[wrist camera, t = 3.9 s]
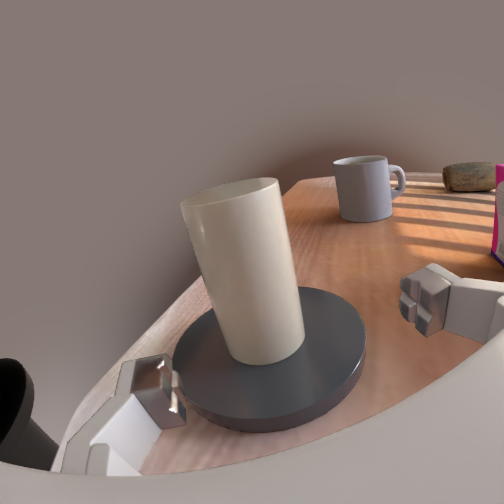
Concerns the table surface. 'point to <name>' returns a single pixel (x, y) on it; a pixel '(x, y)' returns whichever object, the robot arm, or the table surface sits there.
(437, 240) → the table surface
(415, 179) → the table surface
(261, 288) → the cream canister
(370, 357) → the table surface
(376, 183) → the coffee mug
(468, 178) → the stone weight
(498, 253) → the supplement box
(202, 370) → the slate plate
